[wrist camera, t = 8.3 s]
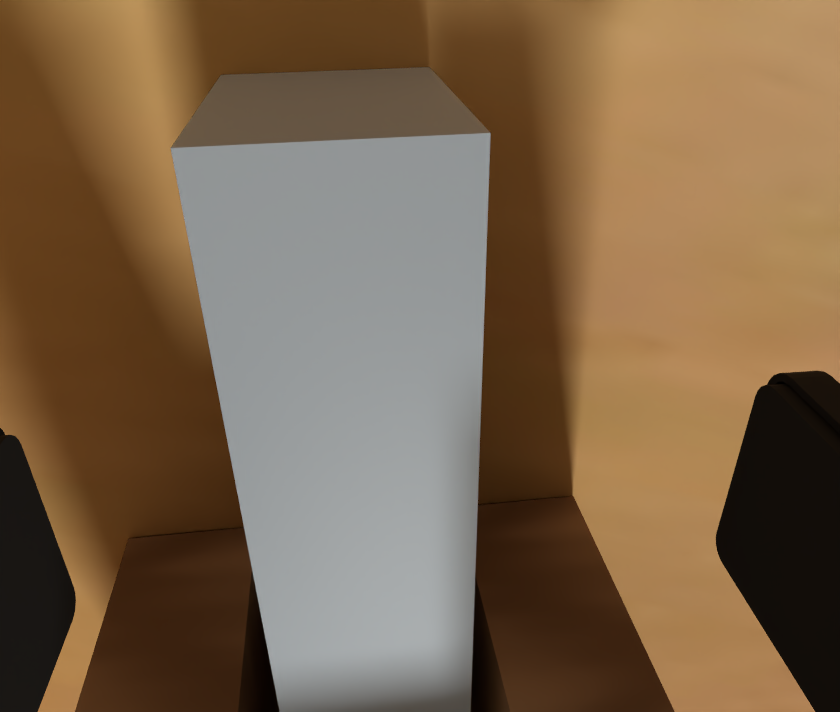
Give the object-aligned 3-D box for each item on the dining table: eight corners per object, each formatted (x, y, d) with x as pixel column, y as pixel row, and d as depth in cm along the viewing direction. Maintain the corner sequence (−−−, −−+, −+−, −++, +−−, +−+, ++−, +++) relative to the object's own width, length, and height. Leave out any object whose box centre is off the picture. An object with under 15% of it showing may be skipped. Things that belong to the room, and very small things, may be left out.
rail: (429, 67, 12) (510, 155, 7) (434, 621, 20) (476, 857, 15) (221, 74, 12) (153, 173, 7) (305, 636, 19) (302, 885, 14)
